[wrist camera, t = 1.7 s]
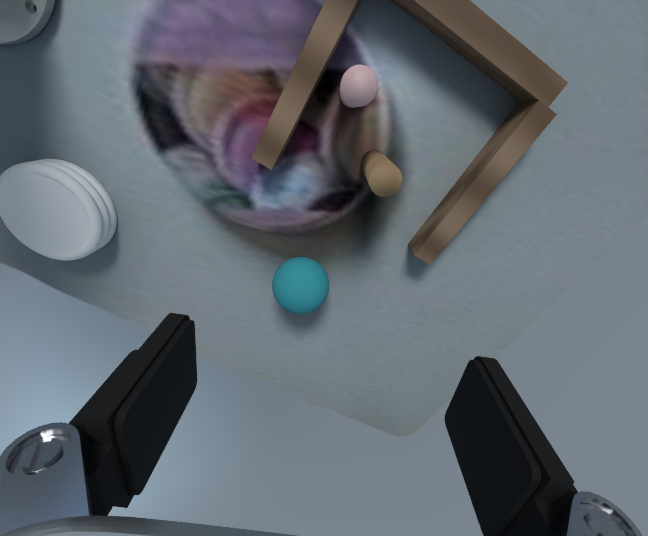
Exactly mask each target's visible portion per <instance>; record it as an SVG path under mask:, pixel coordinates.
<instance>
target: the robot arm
mask: <svg viewBox="0 0 648 536" xmlns="http://www.w3.org/2000/svg"><path fill="white" fill-rule="evenodd" d="M54 3H55V0H0V44H2V45H11V44H19V43H22V42H25V41H28V40H30V39H32V38H33V37H34V36H36V35H37V34H38V33H40V32H41V30H42V29H43V28H44V26H45V25H46V24H47V22H48V20H49V18H50V16H51V13H52V11H53V9H54ZM196 366H197V365H196V344H195V324H194V321H193V320H190V318H189V316H188V315H182V314H175V313H169V314H168V315H167V316H166V317H165V319H164V320H163V321H162V322H161V323H160V325H159V326H158V327H157V328H156V329H155V331H154V332H153V333H152V334H151V335H150V337H149V338H148V339H147V340H146V341H145V343H144V344H143V345H142V346H141V347H140V348H139V350H134V351H132V352H131V353H130V354H128V356H127V357H126V358H125V359H124V360H123V362H122V363H121V364H120V365H119V366H118V367H117V368H116V369H115V371H114V372H113V373H112V374H111V375H110V376H109V377H108V379H107V380H106V381H105V382H104V383H103V385H102V386H101V387H100V388H99V389H98V390H97V391H96V393H95V394H94V395H93V396H92V397H91V398H90V399H89V401H88V402H87V403H86V404H85V406H83V408H82V409H81V410H80V411H79V412H78V414H76V416H75V417H74V418H73V419H72V420H71V421H70V423H69V424H67V423H51V424H47V425H43V426H39V427H37V428H35V429H33V430H30V431H28V432H26V433H25V434H23V435H22V436H20V437H19V438H17V439H16V440H15V441H14V442H12V444H10V445H9V446H8V447H7V448H6V449H5V450H4V452H3V453H2V454H1V456H0V536H295V535H287V534H279V533H271V532H262V531H254V530H245V529H237V528H229V527H220V526H212V525H204V524H194V523H186V522H176V521H166V520H156V519H146V518H136V517H119V516H108V514H109V512H110V511H111V509H112V507H113V506H116V507H124V508H127V507H128V505H129V504H130V502H131V500H132V498H133V496H134V495H139V494H140V493H141V492H142V490H143V489H144V487H145V485H146V483H147V481H148V479H149V478H150V476H151V474H152V472H153V470H154V468H155V466H156V464H157V462H158V460H159V458H160V456H161V454H162V452H163V450H164V449H165V447H166V445H167V443H168V441H169V439H170V437H171V435H172V433H173V431H174V429H175V427H176V425H177V423H178V421H179V419H180V418H181V416H182V414H183V412H184V410H185V408H186V406H187V404H188V402H189V400H190V398H191V396H192V394H193V392H194V390H195V388H196V384H197V367H196ZM445 424H446V427H447V430H448V433H449V436H450V439H451V442H452V445H453V448H454V451H455V454H456V457H457V460H458V463H459V466H460V469H461V472H462V475H463V477H464V480H465V483H466V486H467V489H468V492H469V495H470V498H471V501H472V504H473V507H474V510H475V513H476V516H477V519H478V521H479V524H480V527H481V530H482V533H483V535H484V536H642V534H641V533H640V531H639V529H638V528H637V527H636V526H635V524H634V523H633V522H632V520H631V519H630V518H629V517H628V516H627V515H626V514H625V513H624V512H623V511H622V510H621V509H619V508H618V507H617V506H615V505H614V504H613V503H612V502H610V501H609V500H607V499H605V498H603V497H601V496H600V495H597V494H594V493H591V492H583V491H581V492H579V493H578V492H577V490H576V488H575V487H574V485H573V483H574V481H573V479H572V477H571V476H570V474H569V473H568V471H567V470H566V468H565V466H564V465H563V463H562V462H561V460H560V458H559V457H558V456H557V454H556V452H555V451H554V449H553V448H552V446H551V444H550V443H549V441H548V440H547V438H546V436H545V435H544V433H543V432H542V430H541V429H540V427H539V425H538V424H537V422H536V421H535V419H534V418H533V416H532V415H531V413H530V411H529V410H528V408H527V407H526V405H525V403H524V402H523V400H522V399H521V397H520V396H519V394H518V393H517V391H516V389H515V388H514V386H513V385H512V383H511V381H510V380H509V378H508V377H507V375H506V374H505V372H504V370H503V369H502V367H501V366H500V364H499V363H498V361H497V360H496V359H494V358H487V357H480V356H477V357H475V358H474V360H470V361H469V362H468V365H467V367H466V369H465V371H464V373H463V376H462V378H461V380H460V382H459V385H458V387H457V389H456V391H455V393H454V396H453V398H452V400H451V402H450V405H449V407H448V409H447V411H446V414H445Z"/></svg>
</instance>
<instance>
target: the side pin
mask: <svg viewBox="0 0 648 536" xmlns="http://www.w3.org/2000/svg"><path fill="white" fill-rule="evenodd" d="M377 85H378V84H377V78H376V75H375V73H374V72H373V71H372V69H370V68H369V67H367V66H365V65H355V66H352V67H351V68H349V69H348V70H347V71H346V72H345V74H344V75H343V77H342V80H341V85H340V91H339V95H340V99H341V101H342V103H343V104H344V105H346V106H347V107H351V108H354V107H362V106H365V105H367V104H368V103H370V102H371V101H372V100H373V98H374V96H375V94H376V92H377Z"/></svg>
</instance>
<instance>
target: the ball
mask: <svg viewBox="0 0 648 536" xmlns="http://www.w3.org/2000/svg"><path fill="white" fill-rule="evenodd" d="M272 289H273V293H274V296H275V299H276V300H277V302H278V303H279V304H280V305H281V306H282V307H283V308H284V309H286V310H287V311H290V312H292V313H297V314H304V313H309V312H312V311H314V310H316V309H317V308H318V307H320V306H321V305H322V303H323V302H324V301H325V299H326V297H327V295H328V291H329V279H328V276H327V273H326V271H325V270H324V268H323V267H322V266H321V265H320V264H319V263H318V262H316V261H315V260H312V259H310V258H306V257H295V258H292V259H289V260H287V261H285V262H284V263H283V264H282V265H281V266H280V267H279V268H278V269H277V271H276V272H275V274H274V277H273V282H272Z"/></svg>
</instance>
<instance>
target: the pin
mask: <svg viewBox="0 0 648 536" xmlns="http://www.w3.org/2000/svg"><path fill="white" fill-rule="evenodd" d="M361 167H362V170H363V172H364V174H365V176H366V179H367V181H368V183H369V186H370V188H371V190H372V191H373V192H374V193H375V194H376V195H378V196H380V197H389V196H391V195H393V194H395V193H396V192H397V191H398V190H399V189H400V187H401V184H402V174H401V172H400V170H399V169H398V168H397V167H396V166H395V165H394V164H393V163H392V162H391V161H390V160H389V159H388V158H387V157H386V156H385V155H384V154H382V153H381V152H380V151H377V150H372V151H369V152H367V153H366V154H365V155H364V156H363V158H362V161H361Z"/></svg>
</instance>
